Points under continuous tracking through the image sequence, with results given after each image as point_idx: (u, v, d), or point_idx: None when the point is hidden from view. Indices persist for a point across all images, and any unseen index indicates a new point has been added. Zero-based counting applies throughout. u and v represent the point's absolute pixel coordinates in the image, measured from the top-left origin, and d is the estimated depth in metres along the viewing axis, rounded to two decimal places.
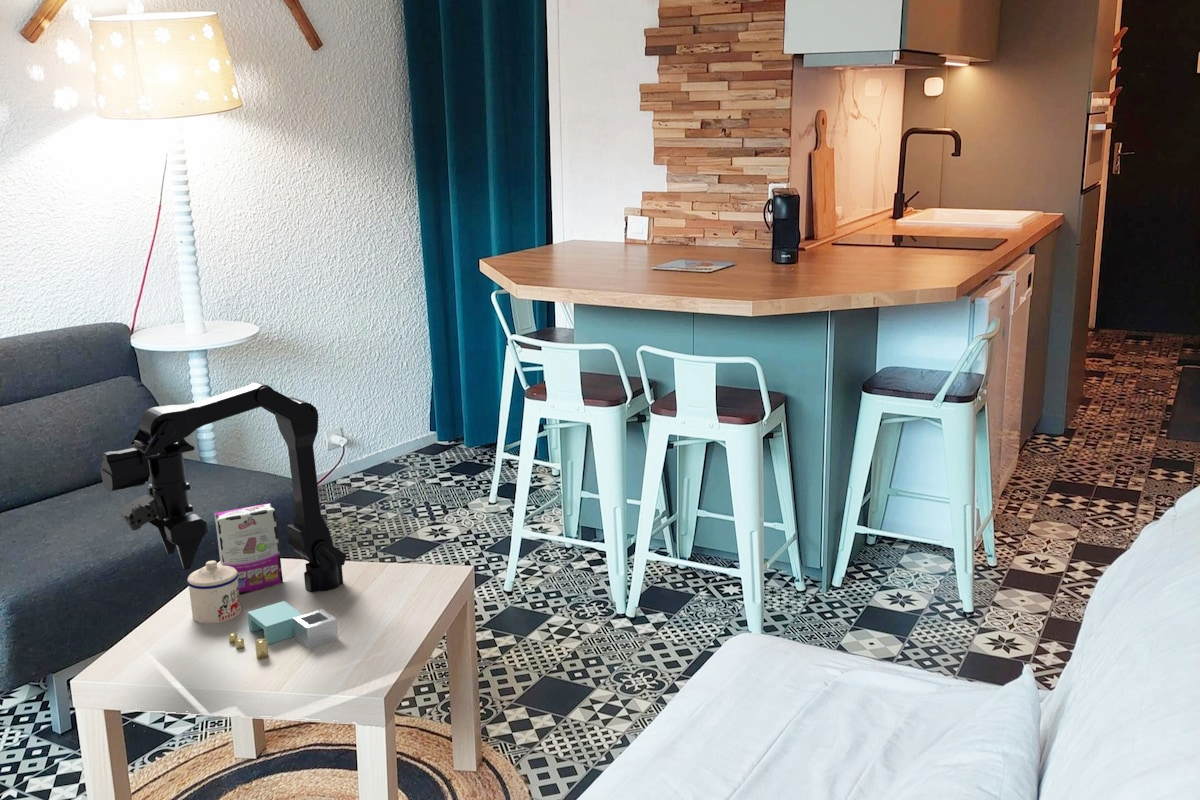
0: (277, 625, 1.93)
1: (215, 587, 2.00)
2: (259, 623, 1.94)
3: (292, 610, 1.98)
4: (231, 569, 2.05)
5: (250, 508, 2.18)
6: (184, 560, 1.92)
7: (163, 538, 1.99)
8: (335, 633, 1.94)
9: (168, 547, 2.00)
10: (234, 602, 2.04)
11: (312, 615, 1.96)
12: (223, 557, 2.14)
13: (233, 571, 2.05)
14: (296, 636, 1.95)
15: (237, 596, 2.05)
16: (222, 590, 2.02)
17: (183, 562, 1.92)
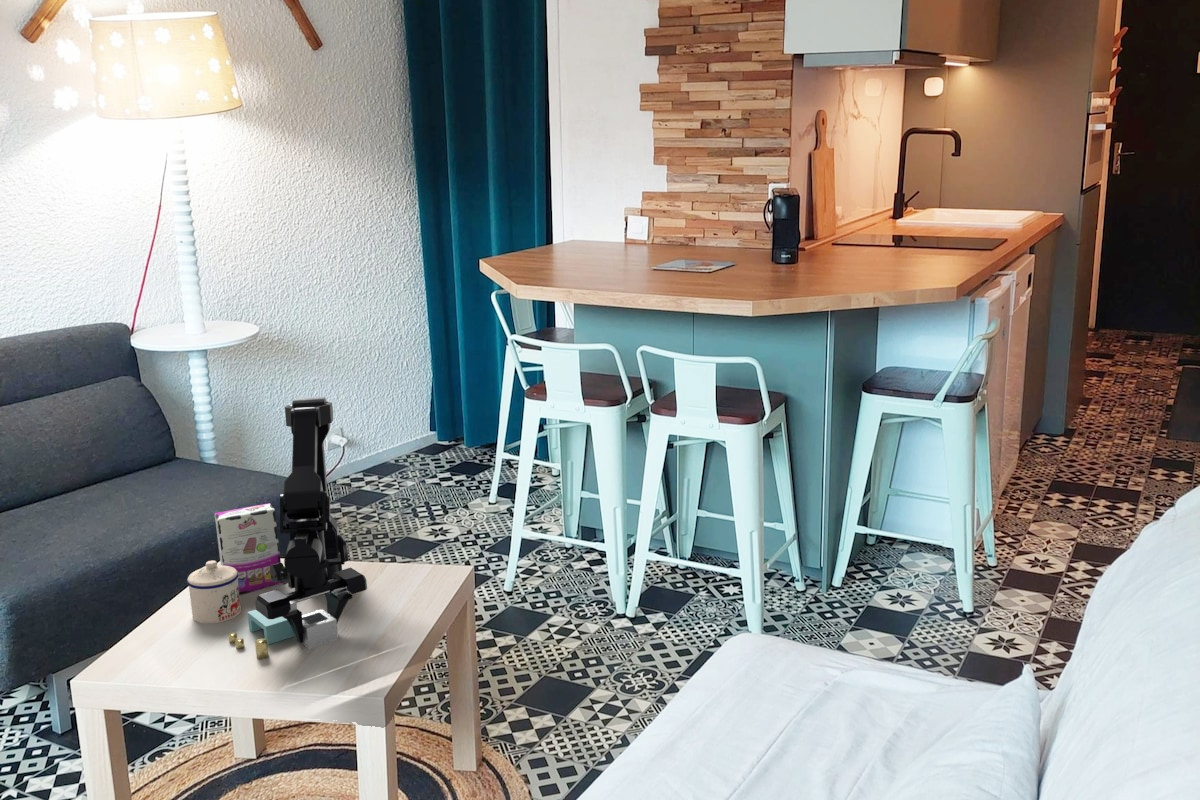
0: (277, 625, 1.93)
1: (215, 587, 2.00)
2: (259, 623, 1.94)
3: None
4: (231, 569, 2.05)
5: (250, 508, 2.18)
6: (294, 632, 1.92)
7: None
8: (335, 633, 1.94)
9: None
10: (234, 602, 2.04)
11: (312, 615, 1.96)
12: (223, 557, 2.14)
13: (233, 571, 2.05)
14: None
15: (237, 596, 2.05)
16: (222, 590, 2.02)
17: (294, 633, 1.93)
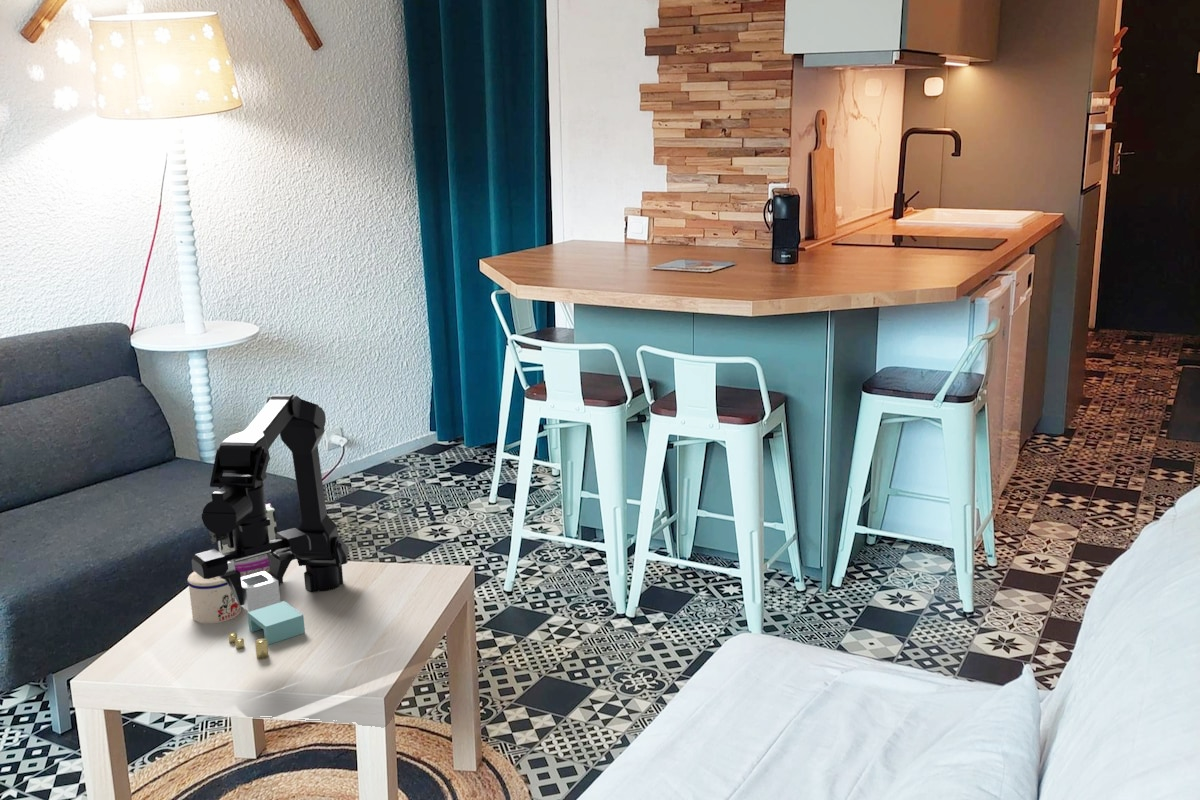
0: (277, 625, 1.93)
1: (215, 587, 2.00)
2: (259, 623, 1.94)
3: (292, 610, 1.98)
4: None
5: None
6: (233, 594, 1.84)
7: None
8: (277, 596, 1.85)
9: None
10: (234, 602, 2.04)
11: (253, 577, 1.87)
12: None
13: None
14: None
15: None
16: (222, 590, 2.02)
17: (234, 595, 1.84)
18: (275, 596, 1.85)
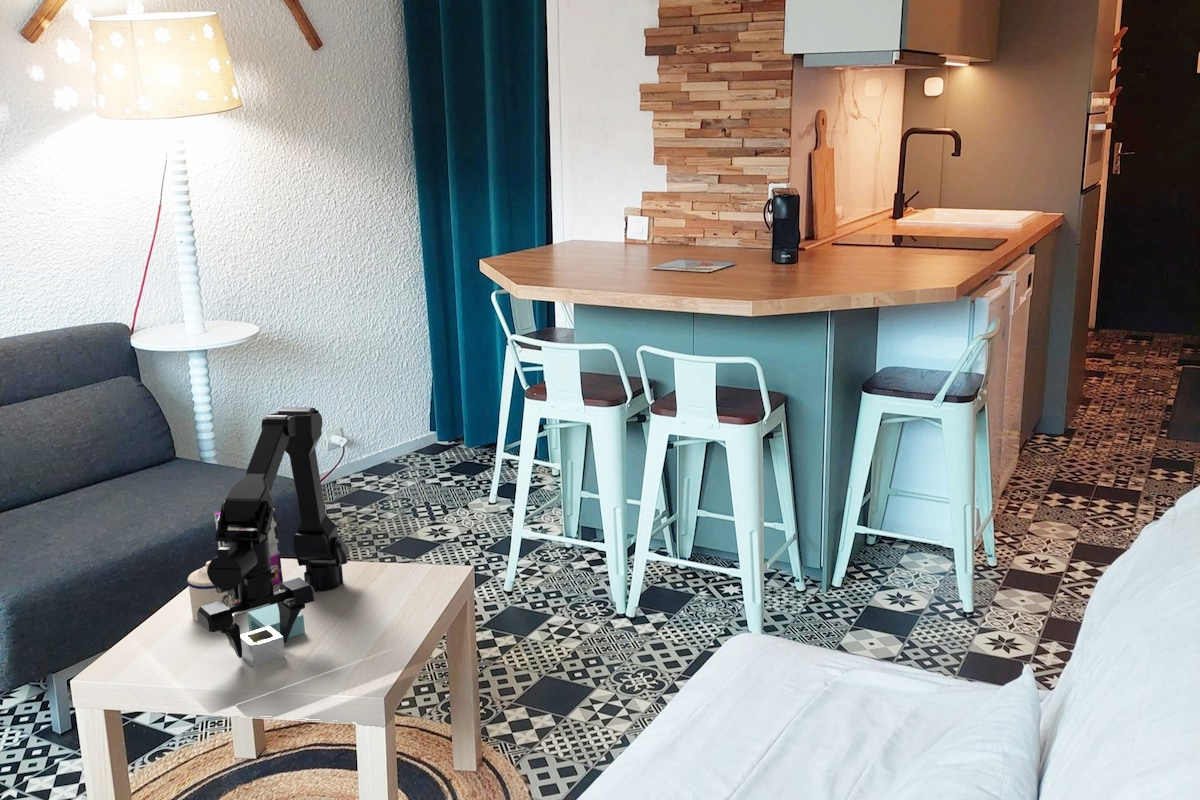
0: (277, 625, 1.93)
1: None
2: (259, 623, 1.94)
3: None
4: None
5: None
6: (232, 646, 1.85)
7: (280, 623, 1.91)
8: (282, 651, 1.88)
9: (281, 634, 1.91)
10: (234, 602, 2.04)
11: (258, 632, 1.89)
12: None
13: None
14: None
15: None
16: None
17: (233, 648, 1.86)
18: (280, 652, 1.88)
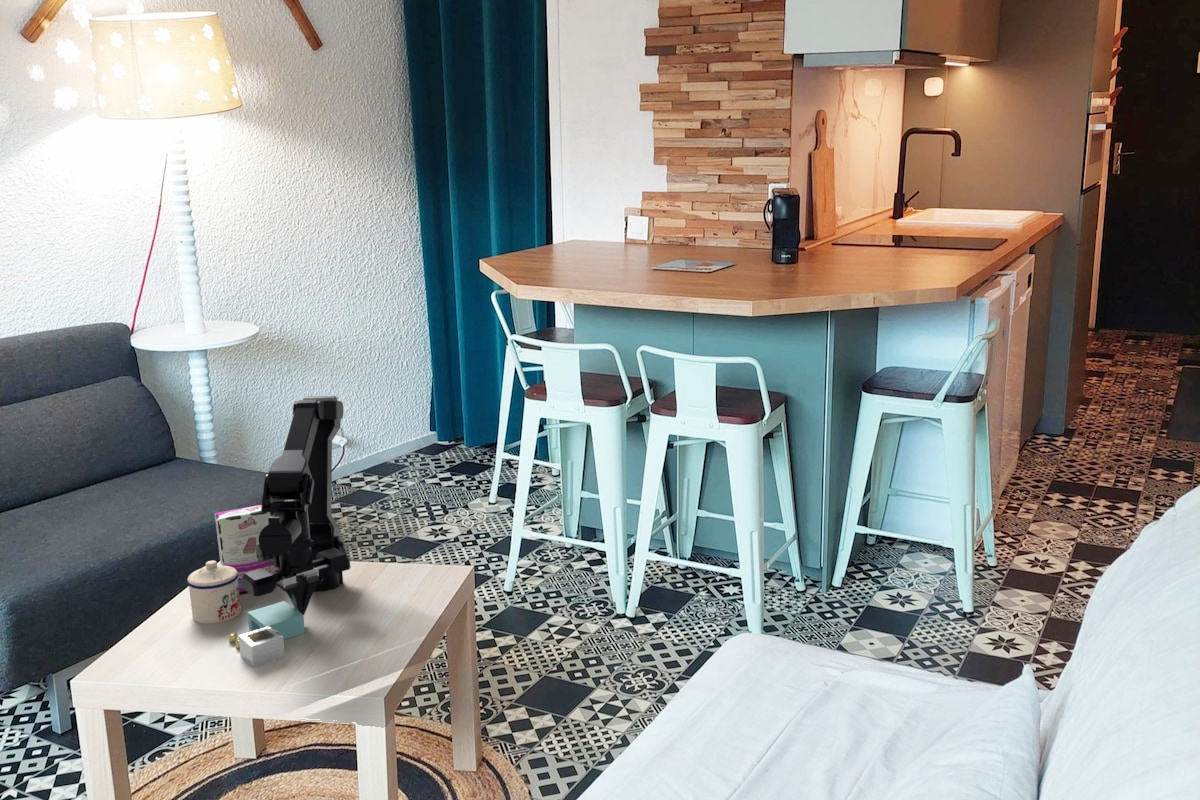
0: (277, 625, 1.93)
1: (215, 587, 2.00)
2: (259, 623, 1.94)
3: (292, 610, 1.98)
4: (231, 569, 2.05)
5: (250, 508, 2.18)
6: (293, 605, 2.00)
7: None
8: (282, 651, 1.88)
9: None
10: (234, 602, 2.04)
11: (258, 632, 1.89)
12: (223, 557, 2.14)
13: (233, 571, 2.05)
14: (241, 654, 1.88)
15: (237, 596, 2.05)
16: (222, 590, 2.02)
17: (294, 606, 2.00)
18: (280, 652, 1.88)
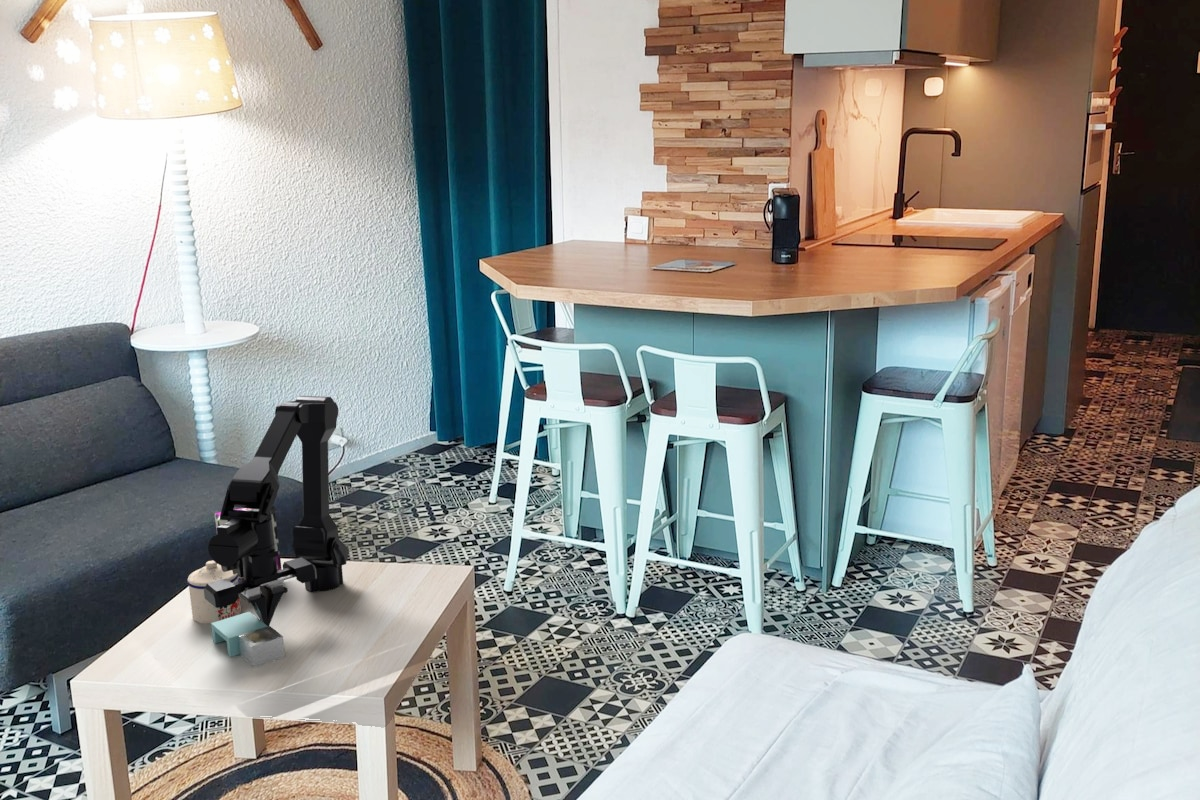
0: None
1: None
2: (222, 635, 1.90)
3: (257, 621, 1.94)
4: None
5: None
6: (258, 616, 1.96)
7: None
8: (282, 651, 1.88)
9: None
10: None
11: (258, 632, 1.89)
12: None
13: None
14: (241, 654, 1.88)
15: None
16: None
17: (259, 617, 1.96)
18: (280, 652, 1.88)
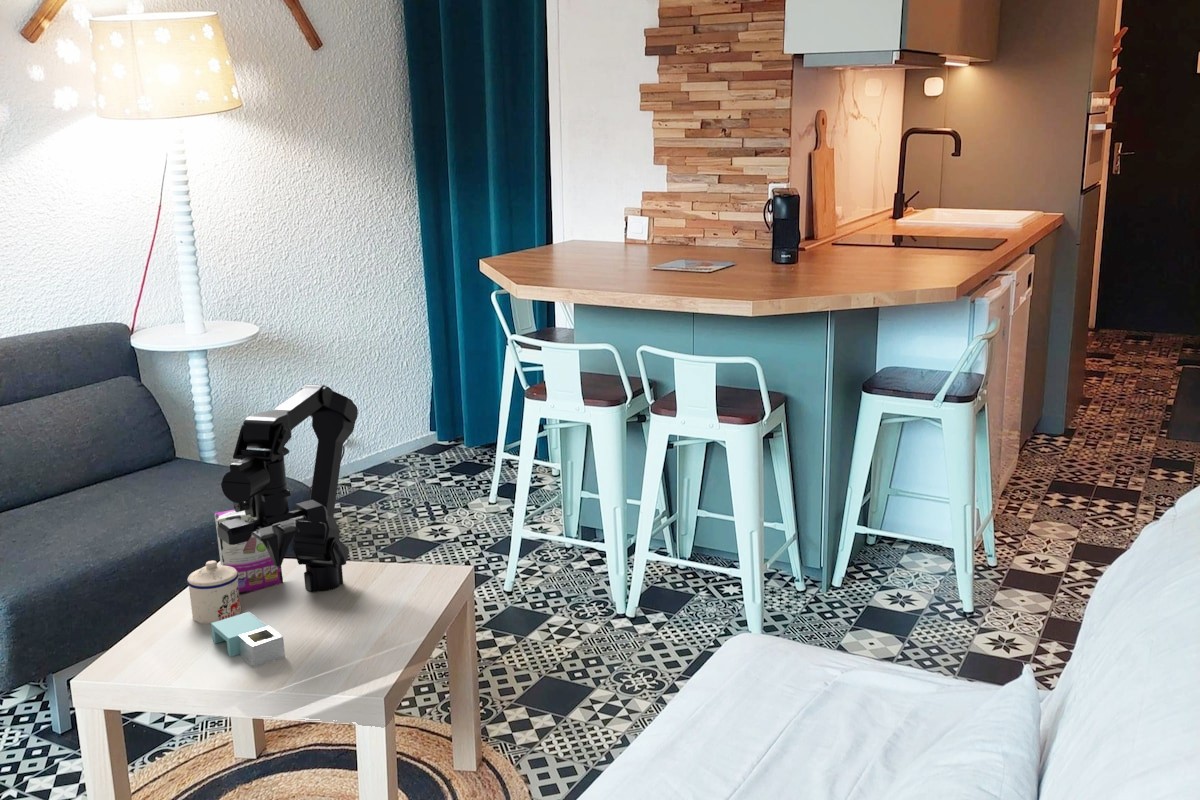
0: None
1: (215, 587, 2.00)
2: (222, 635, 1.90)
3: (257, 621, 1.94)
4: (231, 569, 2.05)
5: None
6: (270, 556, 2.00)
7: None
8: (282, 651, 1.88)
9: None
10: (234, 602, 2.04)
11: (258, 632, 1.89)
12: (223, 557, 2.14)
13: (233, 571, 2.05)
14: (241, 654, 1.88)
15: (237, 596, 2.05)
16: (222, 590, 2.02)
17: (271, 557, 2.00)
18: (280, 652, 1.88)
